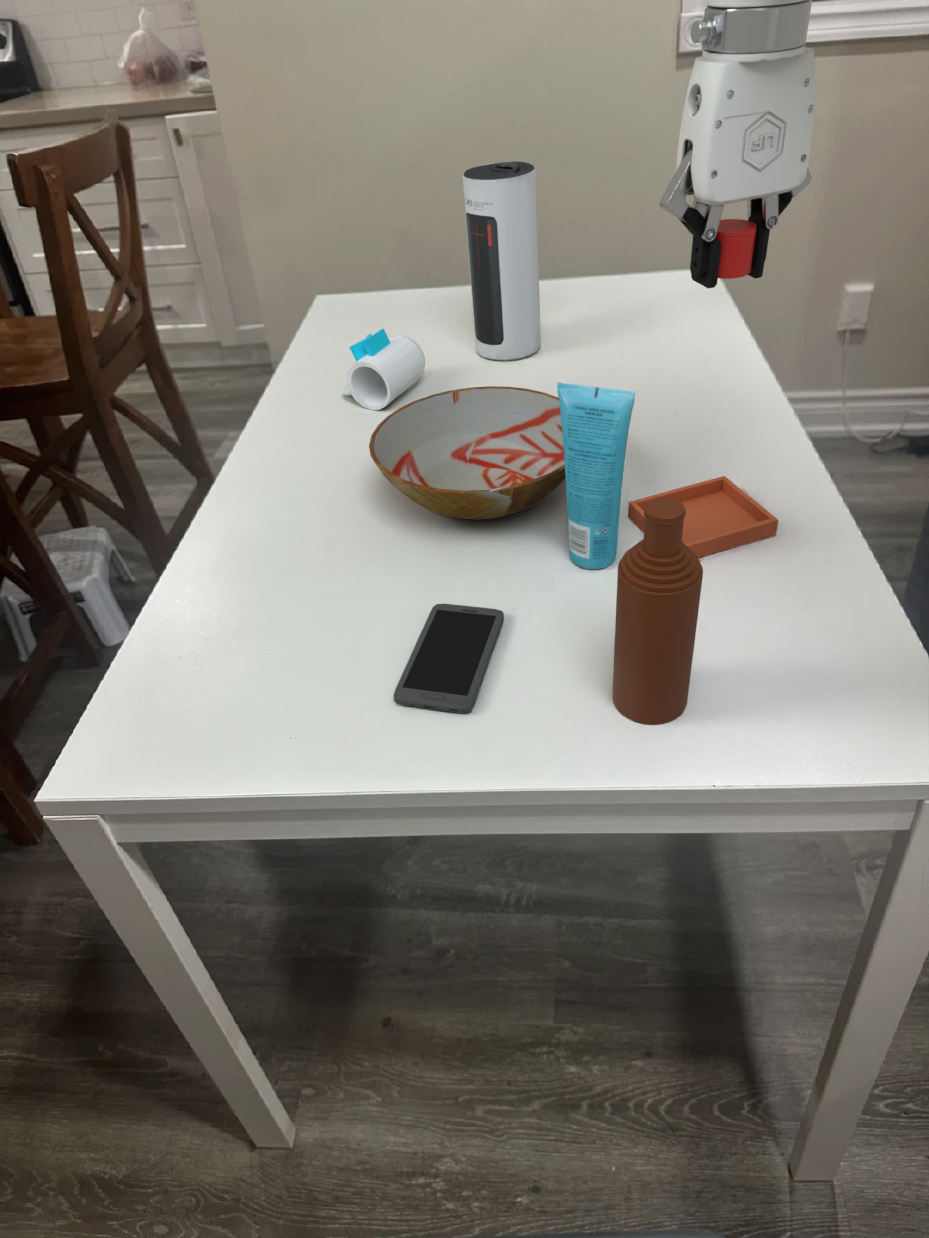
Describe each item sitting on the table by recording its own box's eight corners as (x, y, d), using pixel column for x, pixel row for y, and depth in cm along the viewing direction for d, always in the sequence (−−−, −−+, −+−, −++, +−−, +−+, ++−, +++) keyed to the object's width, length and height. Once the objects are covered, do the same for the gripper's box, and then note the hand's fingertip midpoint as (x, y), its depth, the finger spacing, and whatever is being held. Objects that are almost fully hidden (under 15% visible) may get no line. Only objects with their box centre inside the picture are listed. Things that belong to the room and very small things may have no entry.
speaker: (462, 347, 138) (447, 167, 121) (515, 330, 142) (508, 153, 125) (500, 367, 131) (490, 179, 114) (555, 348, 134) (552, 164, 118)
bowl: (403, 576, 92) (393, 512, 87) (361, 466, 111) (351, 408, 106) (623, 526, 96) (627, 463, 91) (547, 428, 115) (546, 371, 110)
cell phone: (391, 704, 77) (390, 698, 76) (435, 607, 87) (434, 601, 86) (471, 715, 75) (470, 709, 75) (506, 614, 85) (505, 609, 85)
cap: (693, 274, 77) (698, 228, 74) (716, 260, 79) (721, 216, 76) (736, 282, 74) (742, 235, 72) (758, 268, 77) (765, 222, 74)
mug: (413, 310, 124) (367, 342, 116) (440, 368, 128) (398, 403, 120) (356, 333, 131) (309, 365, 124) (383, 388, 135) (340, 422, 127)
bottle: (663, 664, 78) (681, 477, 66) (701, 711, 74) (728, 518, 61) (599, 685, 77) (605, 497, 64) (634, 733, 72) (647, 541, 60)
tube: (631, 548, 92) (640, 379, 80) (622, 575, 89) (630, 402, 77) (563, 540, 95) (562, 373, 82) (552, 565, 91) (549, 396, 79)
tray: (722, 490, 100) (724, 475, 98) (776, 535, 92) (778, 519, 91) (627, 516, 97) (628, 501, 96) (674, 565, 90) (676, 549, 88)
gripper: (683, 51, 61) (664, 310, 72) (881, 22, 64) (832, 273, 76) (632, 42, 66) (622, 284, 78) (817, 15, 70) (780, 250, 82)
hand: (726, 276), depth 77 cm, fingers closed on cap, 3 cm apart
